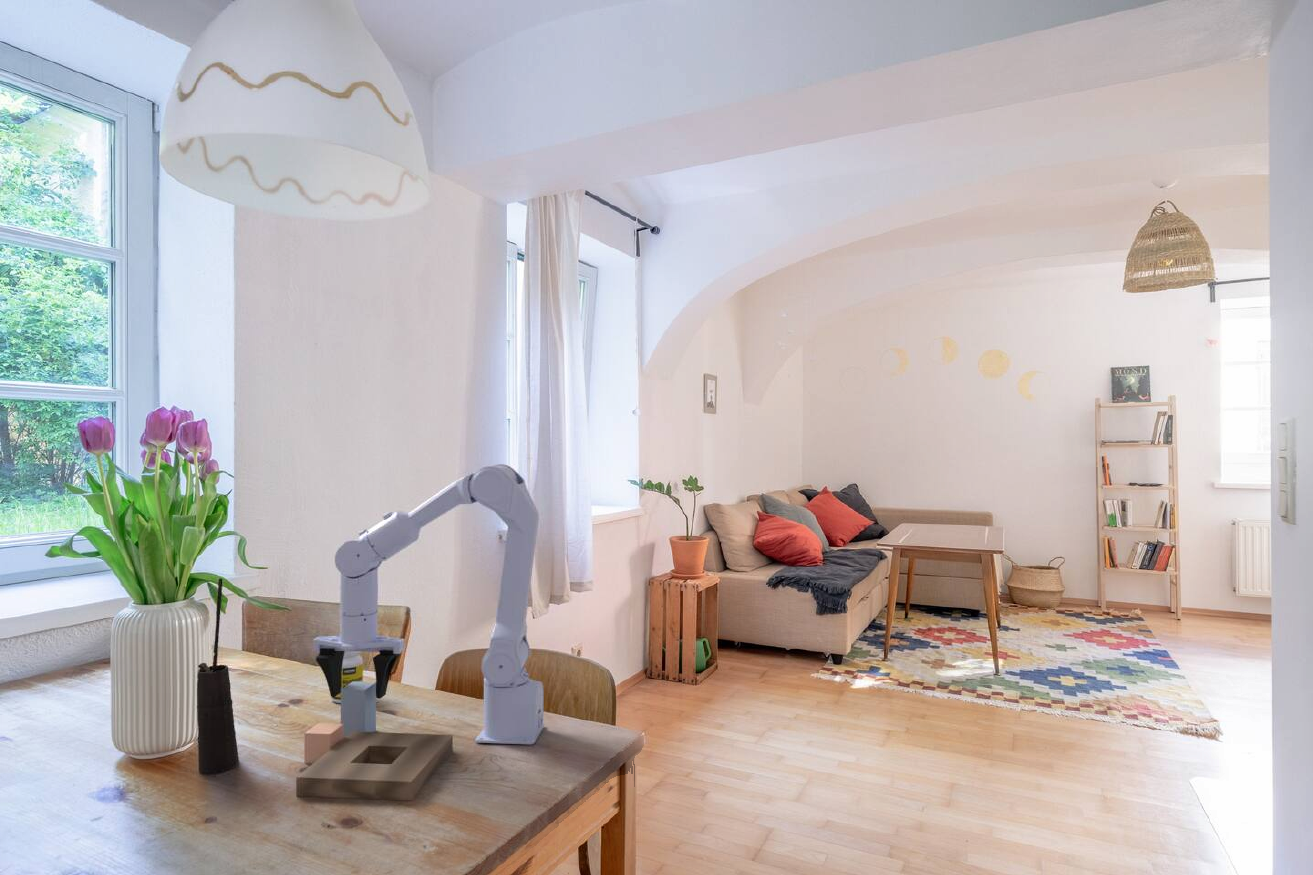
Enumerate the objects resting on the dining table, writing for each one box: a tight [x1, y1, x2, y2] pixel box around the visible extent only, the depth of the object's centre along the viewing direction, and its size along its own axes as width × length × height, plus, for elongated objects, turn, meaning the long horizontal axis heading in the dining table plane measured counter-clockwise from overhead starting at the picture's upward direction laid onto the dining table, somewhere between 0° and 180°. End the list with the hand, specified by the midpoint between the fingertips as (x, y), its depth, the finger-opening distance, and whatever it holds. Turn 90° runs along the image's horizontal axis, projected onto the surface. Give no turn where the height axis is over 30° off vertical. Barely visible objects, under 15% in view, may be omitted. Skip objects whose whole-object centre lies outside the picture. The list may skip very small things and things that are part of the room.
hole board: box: [295, 731, 454, 801], centre depth 109 cm, size 16×16×2 cm
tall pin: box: [340, 681, 377, 739], centre depth 123 cm, size 4×4×8 cm
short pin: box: [303, 722, 344, 764], centre depth 114 cm, size 4×4×4 cm
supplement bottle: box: [330, 651, 364, 704], centre depth 140 cm, size 5×5×10 cm
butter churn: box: [196, 577, 240, 775], centre depth 111 cm, size 9×10×28 cm
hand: (358, 695), depth 123 cm, fingers open, 7 cm apart
